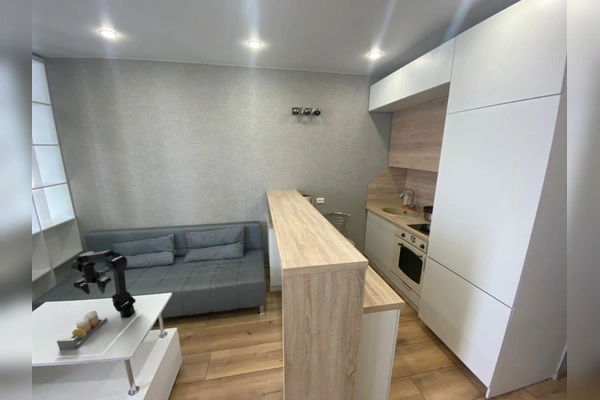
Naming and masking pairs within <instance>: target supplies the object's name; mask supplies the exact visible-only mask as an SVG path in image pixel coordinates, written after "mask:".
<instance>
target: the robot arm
mask: <svg viewBox="0 0 600 400" xmlns="http://www.w3.org/2000/svg"><path fill="white" fill-rule="evenodd" d="M110 257H112V258H114V259H112V260H110V261H109V260H108V258H110ZM99 260H102V261H103V262H104V263H103V264H104V266H105V267H107V268H108V269H109V271H111V272H112V273H113V279H114V281H113V282H114V288H115V294H112V296H111V299H112V306H113V307H114V309H115V310H116V311H117V313H119V314H120V319H129V318H131V317H132V316H133V315H134V314H135V313H136V312H137V309H136V310H135V307H134V304H135V303H136V301H137V300H136V299H135V298H134V297H133V295H131V293H130V292H129V291H127V284H126V276H125V275H126V274H125V270H126V268H127V266H128V258H127V257H126V256H125V255H123V254H122V253H119V252H115V251H113V250H111V249H108V250H104V251H96V252H94V251H91V250H89V251H87V252H84V253H82V254H78V255H77V256H76V258H75V260H74V261H72V262H73V263H72V264H71V266H70V270H71V271H74V272H79V273H82V274H83V275H82V276H81V278H79V279H78V280H77V281H75V282H73V287H74V288H76V289H78V290H81V291H82V292H83V293H84V294H87V295H89V294H91V293H90V292H91V291H90V287H89V285H91V284H96V285H97V288H98V290H99V291H100V293H101V294H104V293H105V291H106V288H107V284H109V283H110V282H112V278H111V277H110V276H106V274H107V273H106V270H98V269H96V267H95V266H96V265H97V263H96V262H94V261H99ZM103 276H104V277H103Z"/></svg>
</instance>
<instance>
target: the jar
mask: <svg viewBox="0 0 600 400" xmlns="http://www.w3.org/2000/svg"><path fill="white" fill-rule="evenodd" d="M84 318H89V321H90V324H91V328H92V329H94V328H95V327H96V326H97V325H98V324H99V323H100V322H99V319H100V318H99V316H98V311H96V310H92V311H90V312H87V313H86V314H85V315H84Z"/></svg>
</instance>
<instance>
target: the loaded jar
mask: <svg viewBox="0 0 600 400" xmlns="http://www.w3.org/2000/svg"><path fill="white" fill-rule="evenodd" d="M75 325H76V328H81V327H82V328H83V329H85V331H86V334H88V333H89V332H90V331H91V330H92V328H91V324H90V321H89V318H85V317H83V318H81V319H80V320H77V321H76V323H75Z"/></svg>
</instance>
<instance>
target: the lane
mask: <svg viewBox="0 0 600 400" xmlns="http://www.w3.org/2000/svg"><path fill="white" fill-rule="evenodd" d="M106 321H108V317H104V318H99V322H100V323H99V324H98V325H97V326H96V327H95V328H94V329H92V330H91V331H90V332H89V333H88V334H87V335H86V336H85V337H84V338H78V339H76V338H74V337H73V335H71V336H70V337H69V338H59V339H57V340H56V343H57V346H58V349H59V351H62V350H63V351H67V350H77V349H78V348H79V347H80V346H81V345H82V344H83V343H84V342H85V341H87V340H88V339H89V337H91V336H92V335H94V334H95V332H96V331H97V330H99V328H100V327H102V325H103V324H105V323H106Z"/></svg>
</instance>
